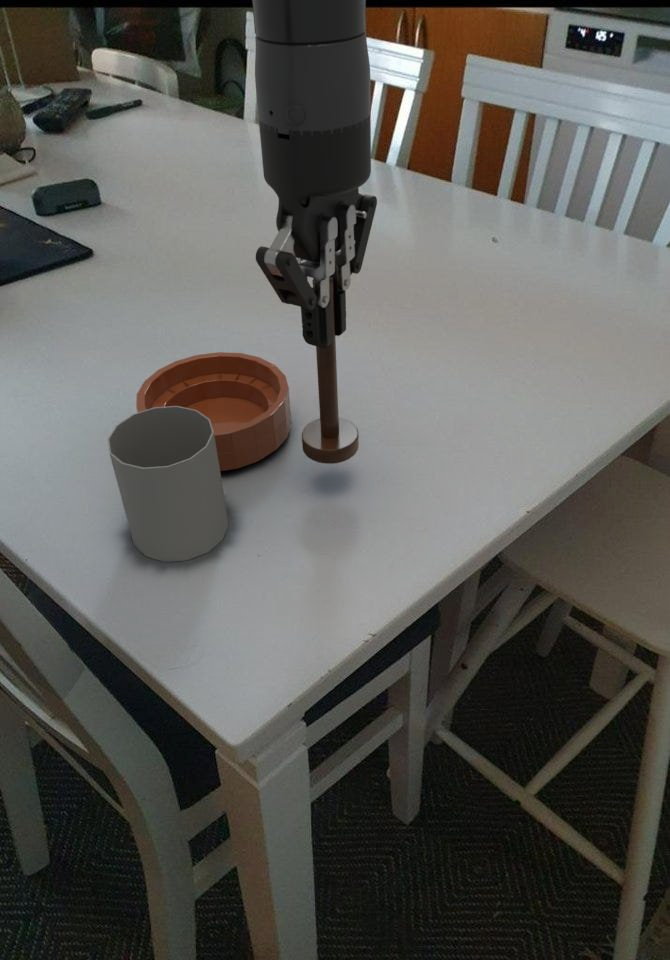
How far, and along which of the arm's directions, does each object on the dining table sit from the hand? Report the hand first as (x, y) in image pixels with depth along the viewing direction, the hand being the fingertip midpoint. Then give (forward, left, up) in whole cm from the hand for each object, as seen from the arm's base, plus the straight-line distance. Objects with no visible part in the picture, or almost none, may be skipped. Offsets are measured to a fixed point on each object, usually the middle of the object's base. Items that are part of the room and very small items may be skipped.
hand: (325, 337), depth 65 cm
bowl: (-6, +13, -15) cm, 21 cm away
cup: (-14, +2, -16) cm, 21 cm away
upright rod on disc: (0, 0, -11) cm, 11 cm away
